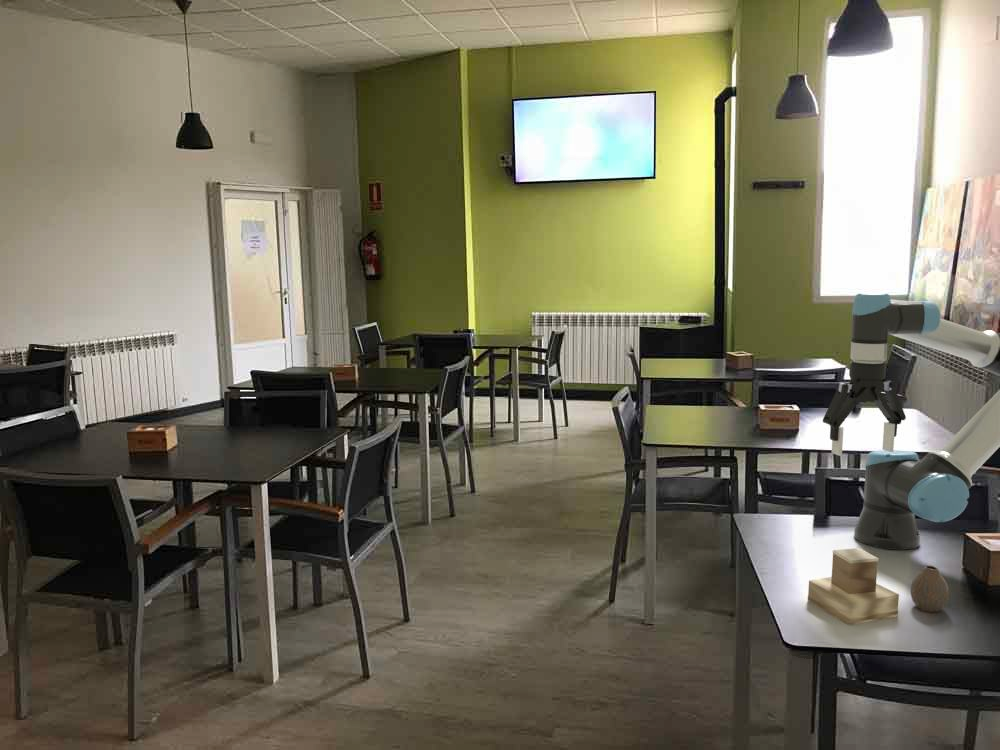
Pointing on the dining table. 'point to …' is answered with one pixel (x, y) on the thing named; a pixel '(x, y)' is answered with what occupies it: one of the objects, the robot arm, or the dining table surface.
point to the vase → (929, 590)
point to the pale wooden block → (854, 570)
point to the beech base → (853, 602)
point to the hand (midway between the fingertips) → (862, 452)
